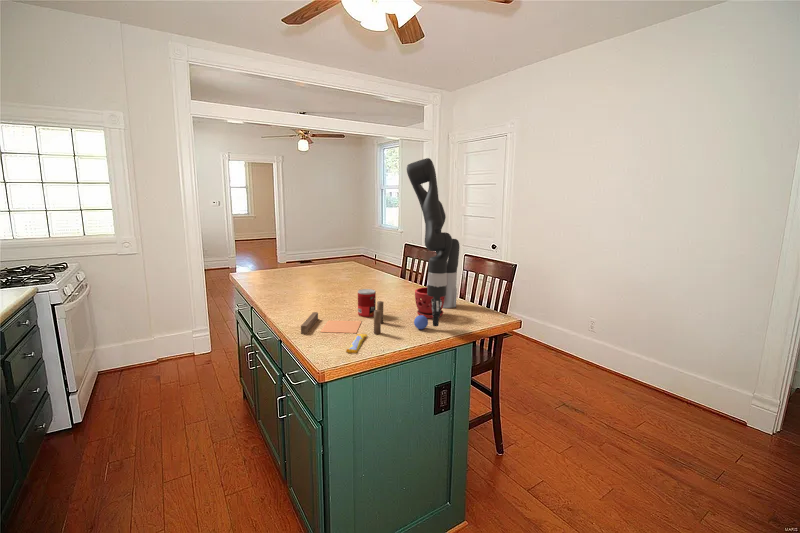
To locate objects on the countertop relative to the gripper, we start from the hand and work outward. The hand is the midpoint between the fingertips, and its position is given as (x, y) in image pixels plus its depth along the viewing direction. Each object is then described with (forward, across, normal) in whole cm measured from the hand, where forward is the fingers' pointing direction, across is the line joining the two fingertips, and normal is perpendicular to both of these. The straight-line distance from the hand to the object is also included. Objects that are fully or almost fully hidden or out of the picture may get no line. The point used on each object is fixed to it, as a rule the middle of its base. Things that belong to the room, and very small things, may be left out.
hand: (435, 325), depth 151 cm
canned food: (+2, -18, -29) cm, 35 cm away
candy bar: (+3, +17, -30) cm, 34 cm away
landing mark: (+2, -2, -38) cm, 38 cm away
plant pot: (+2, -18, -1) cm, 19 cm away
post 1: (+2, -8, -23) cm, 24 cm away
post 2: (+2, +5, -23) cm, 24 cm away
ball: (-1, -1, -6) cm, 6 cm away
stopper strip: (+2, -2, -51) cm, 51 cm away
